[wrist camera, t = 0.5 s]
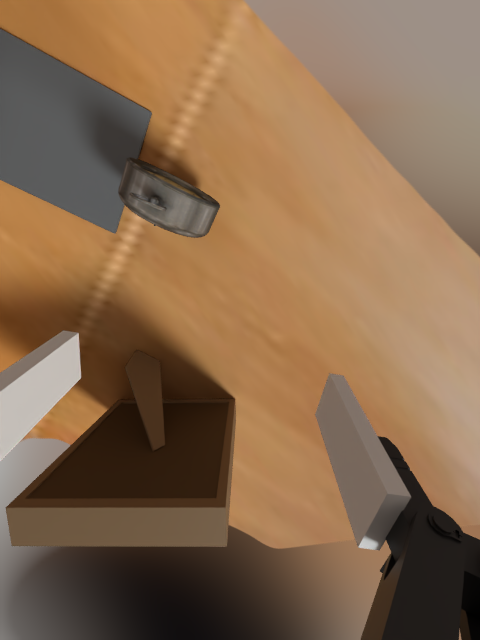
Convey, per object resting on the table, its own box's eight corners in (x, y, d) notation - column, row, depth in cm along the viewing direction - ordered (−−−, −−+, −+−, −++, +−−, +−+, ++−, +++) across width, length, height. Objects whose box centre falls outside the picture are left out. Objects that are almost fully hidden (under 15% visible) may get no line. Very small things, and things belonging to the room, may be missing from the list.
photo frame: (235, 417, 53) (228, 579, 30) (122, 418, 54) (28, 578, 30) (233, 347, 47) (222, 480, 24) (107, 349, 48) (-22, 481, 25)
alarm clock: (225, 203, 39) (213, 202, 24) (208, 238, 41) (188, 259, 26) (150, 162, 37) (86, 133, 22) (137, 201, 39) (69, 200, 24)
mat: (-30, 164, 37) (-33, 164, 37) (-16, 20, 32) (-19, 18, 31) (115, 233, 40) (114, 233, 40) (152, 112, 35) (150, 112, 34)
